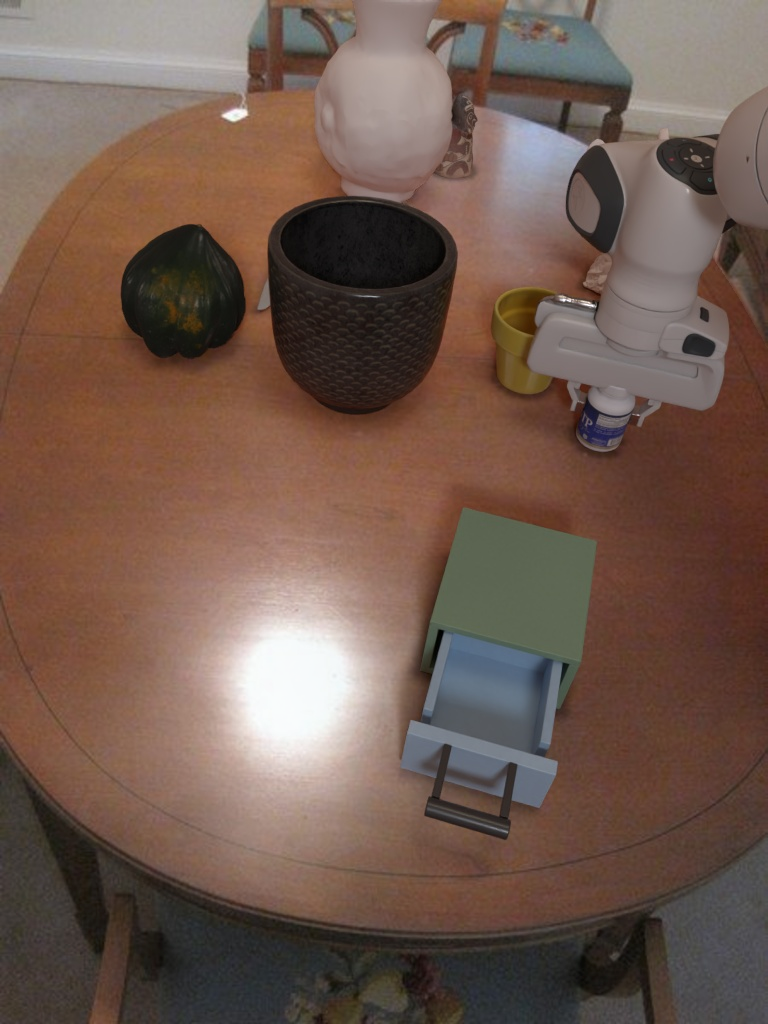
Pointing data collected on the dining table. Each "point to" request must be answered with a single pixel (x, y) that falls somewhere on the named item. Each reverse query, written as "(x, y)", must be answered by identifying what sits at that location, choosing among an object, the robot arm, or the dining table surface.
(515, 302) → the flower pot
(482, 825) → the cabinet drawer
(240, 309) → the squash
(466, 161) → the figurine
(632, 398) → the pill bottle
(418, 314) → the planter
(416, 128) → the vase
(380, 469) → the dining table surface
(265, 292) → the butter knife
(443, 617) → the green drawer cabinet
